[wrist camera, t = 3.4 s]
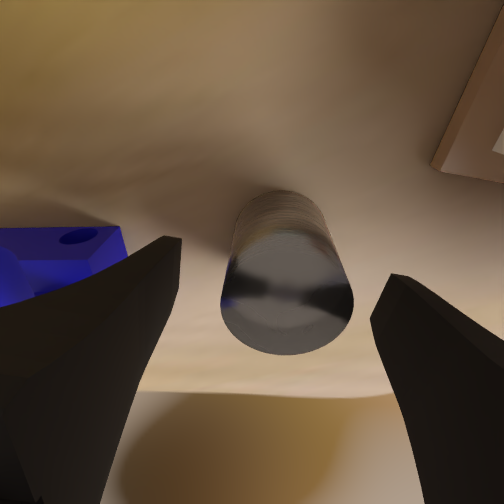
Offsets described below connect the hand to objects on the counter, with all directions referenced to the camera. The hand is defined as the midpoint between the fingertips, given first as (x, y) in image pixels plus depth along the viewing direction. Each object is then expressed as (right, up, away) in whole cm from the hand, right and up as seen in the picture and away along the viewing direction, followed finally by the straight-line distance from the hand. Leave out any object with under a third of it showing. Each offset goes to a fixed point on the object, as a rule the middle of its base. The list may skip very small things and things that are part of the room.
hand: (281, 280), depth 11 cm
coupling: (0, +2, +3) cm, 4 cm away
